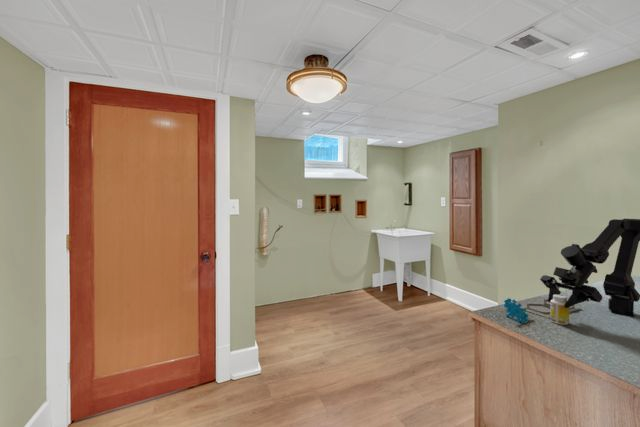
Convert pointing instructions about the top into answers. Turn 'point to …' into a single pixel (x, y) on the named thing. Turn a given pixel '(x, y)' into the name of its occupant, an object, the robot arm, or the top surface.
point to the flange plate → (544, 308)
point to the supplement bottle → (559, 310)
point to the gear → (516, 311)
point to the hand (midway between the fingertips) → (556, 304)
